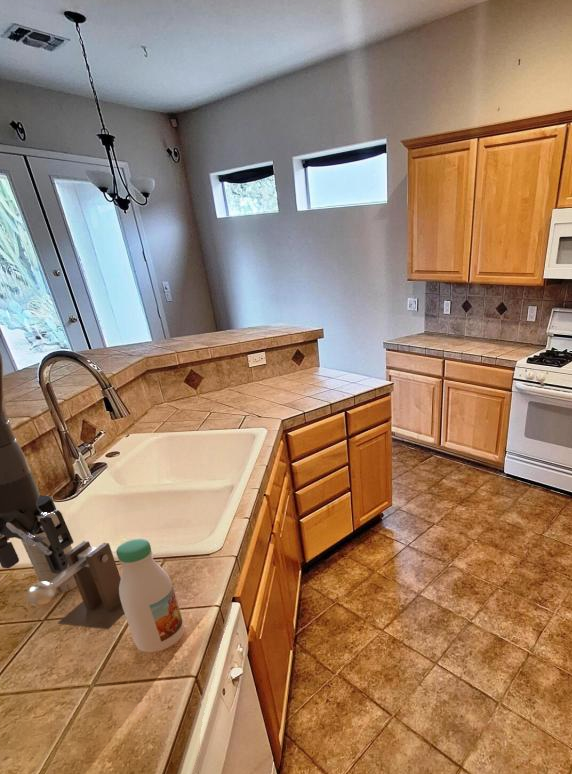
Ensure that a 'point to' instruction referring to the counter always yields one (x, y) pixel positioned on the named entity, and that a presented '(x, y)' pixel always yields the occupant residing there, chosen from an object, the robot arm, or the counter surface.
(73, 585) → the spray can
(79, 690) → the counter surface
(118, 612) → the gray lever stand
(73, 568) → the tap lever
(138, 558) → the milk bottle
